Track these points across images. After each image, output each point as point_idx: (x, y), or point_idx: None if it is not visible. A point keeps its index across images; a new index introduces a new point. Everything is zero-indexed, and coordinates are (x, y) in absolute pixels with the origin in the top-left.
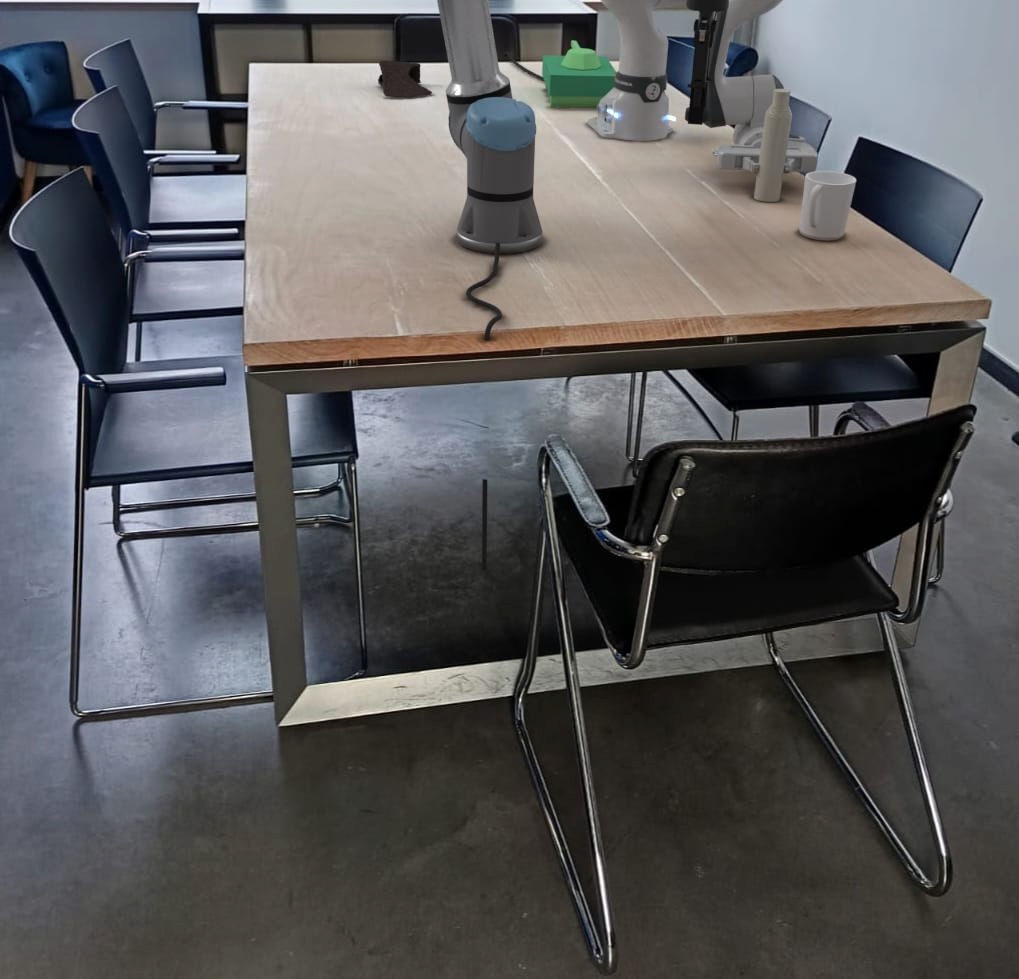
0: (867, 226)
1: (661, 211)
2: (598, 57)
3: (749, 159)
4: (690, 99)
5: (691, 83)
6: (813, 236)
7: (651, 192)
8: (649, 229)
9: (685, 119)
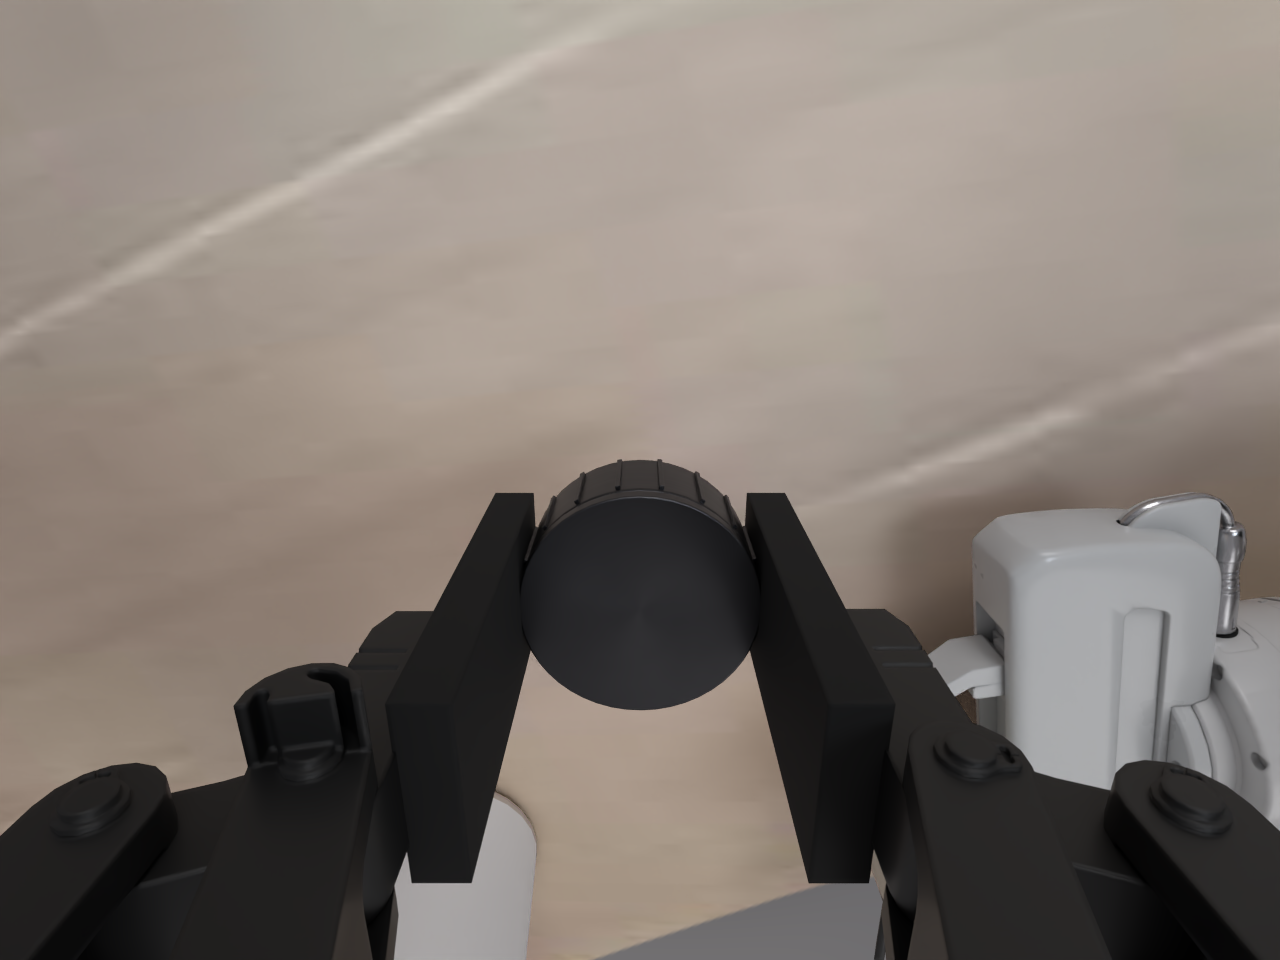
0: (606, 946)
1: (541, 263)
2: None
3: (955, 693)
4: (437, 613)
5: (29, 809)
6: None
7: (855, 171)
8: (245, 238)
9: (599, 468)
